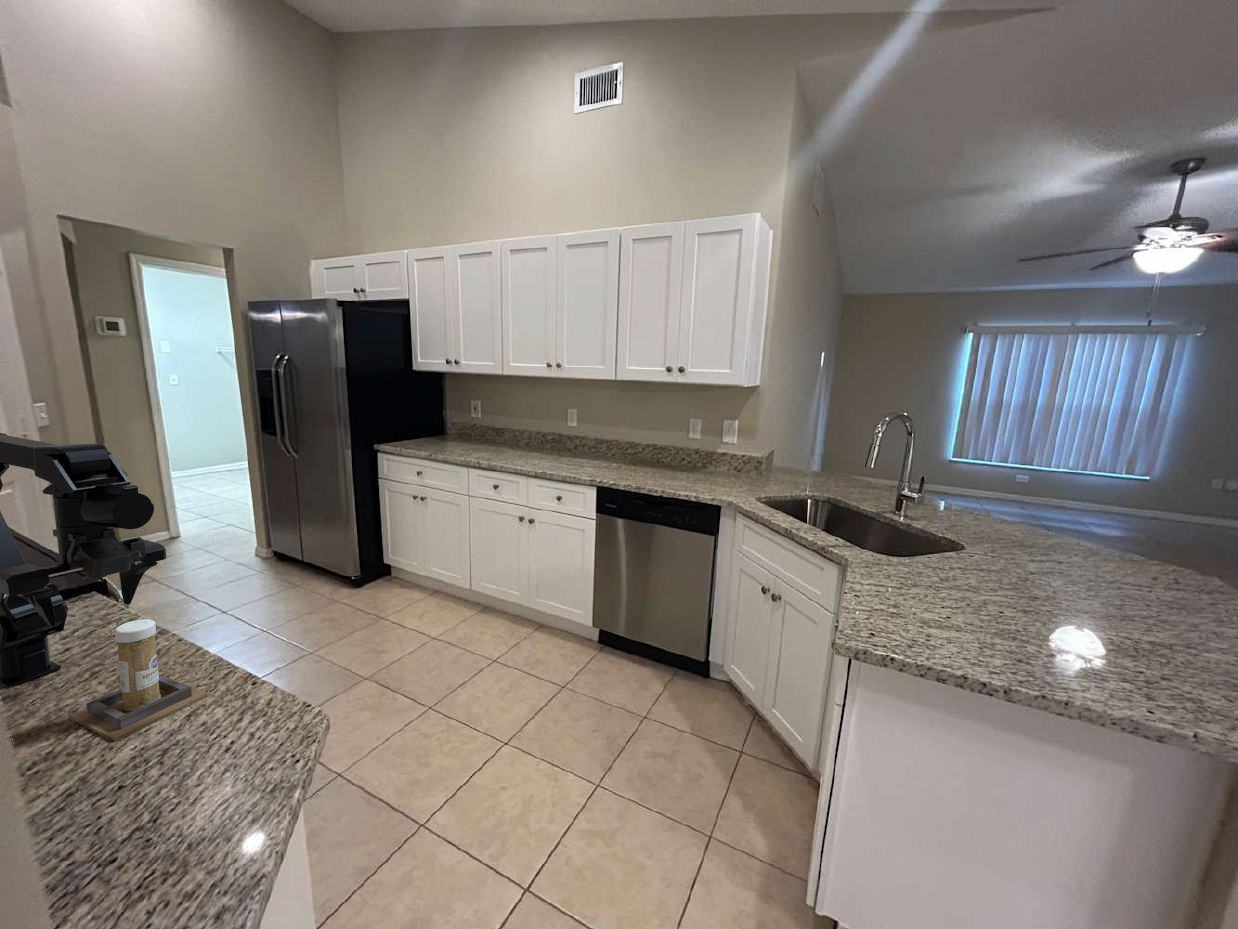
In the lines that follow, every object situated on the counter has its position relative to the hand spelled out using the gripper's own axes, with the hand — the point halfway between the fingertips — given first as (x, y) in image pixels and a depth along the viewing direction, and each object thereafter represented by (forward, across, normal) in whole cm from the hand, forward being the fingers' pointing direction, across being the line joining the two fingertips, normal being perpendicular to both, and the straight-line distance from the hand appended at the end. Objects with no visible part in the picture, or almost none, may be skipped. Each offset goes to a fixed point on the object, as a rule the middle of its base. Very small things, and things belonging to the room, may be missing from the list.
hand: (91, 614), depth 81 cm
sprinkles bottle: (+13, 0, -12) cm, 17 cm away
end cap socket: (+13, 0, -12) cm, 18 cm away
